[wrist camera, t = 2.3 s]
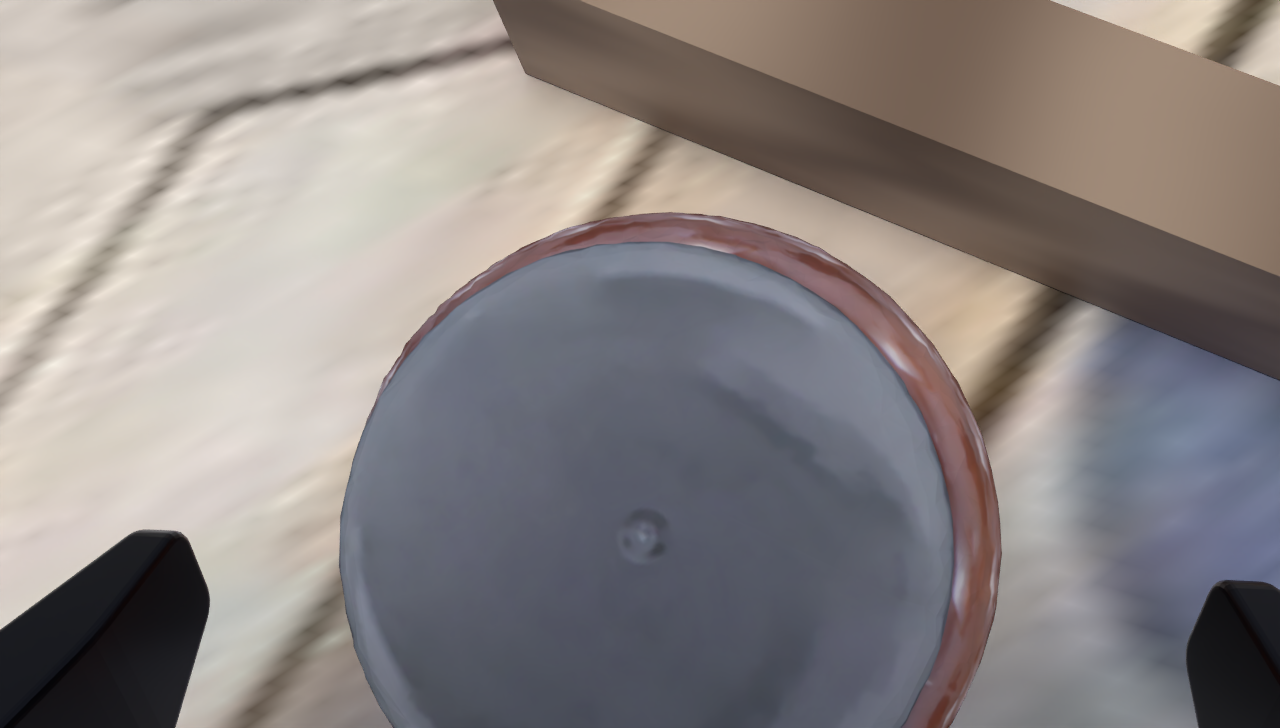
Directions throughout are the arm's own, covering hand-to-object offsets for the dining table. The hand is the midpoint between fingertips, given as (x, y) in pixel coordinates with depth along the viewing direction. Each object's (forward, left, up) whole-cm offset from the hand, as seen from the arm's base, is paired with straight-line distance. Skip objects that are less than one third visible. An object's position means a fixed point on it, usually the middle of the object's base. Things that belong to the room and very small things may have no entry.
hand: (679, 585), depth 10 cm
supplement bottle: (0, 0, -9) cm, 9 cm away
